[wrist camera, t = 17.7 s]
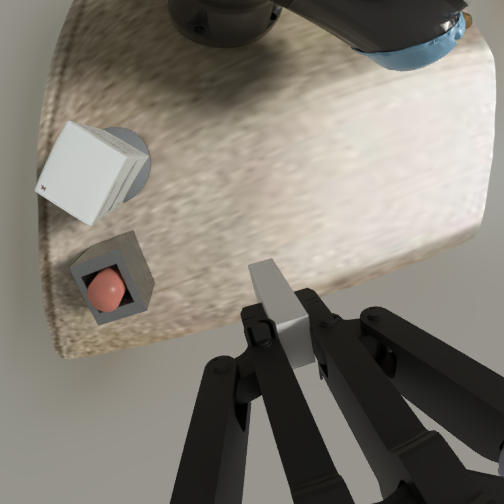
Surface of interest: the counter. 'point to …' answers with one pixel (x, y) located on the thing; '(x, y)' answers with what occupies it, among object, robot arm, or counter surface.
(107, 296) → the button
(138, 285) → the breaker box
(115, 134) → the coaster
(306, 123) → the counter surface
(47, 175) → the supplement box
